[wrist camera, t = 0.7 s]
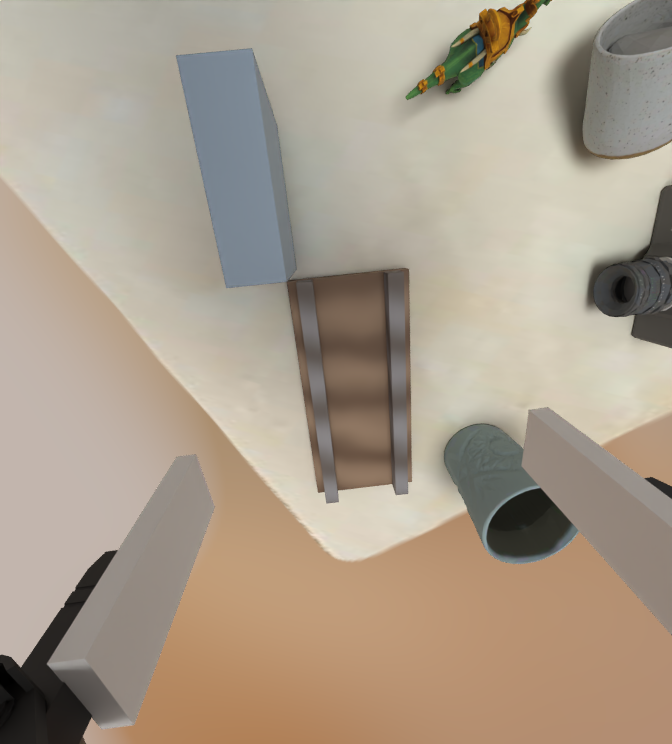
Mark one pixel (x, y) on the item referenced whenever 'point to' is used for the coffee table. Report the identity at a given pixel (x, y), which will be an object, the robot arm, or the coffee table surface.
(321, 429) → the door track
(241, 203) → the door panel
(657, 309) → the camera
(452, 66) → the figurine
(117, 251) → the coffee table surface
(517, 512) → the grey green cup
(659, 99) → the ceramic mug
